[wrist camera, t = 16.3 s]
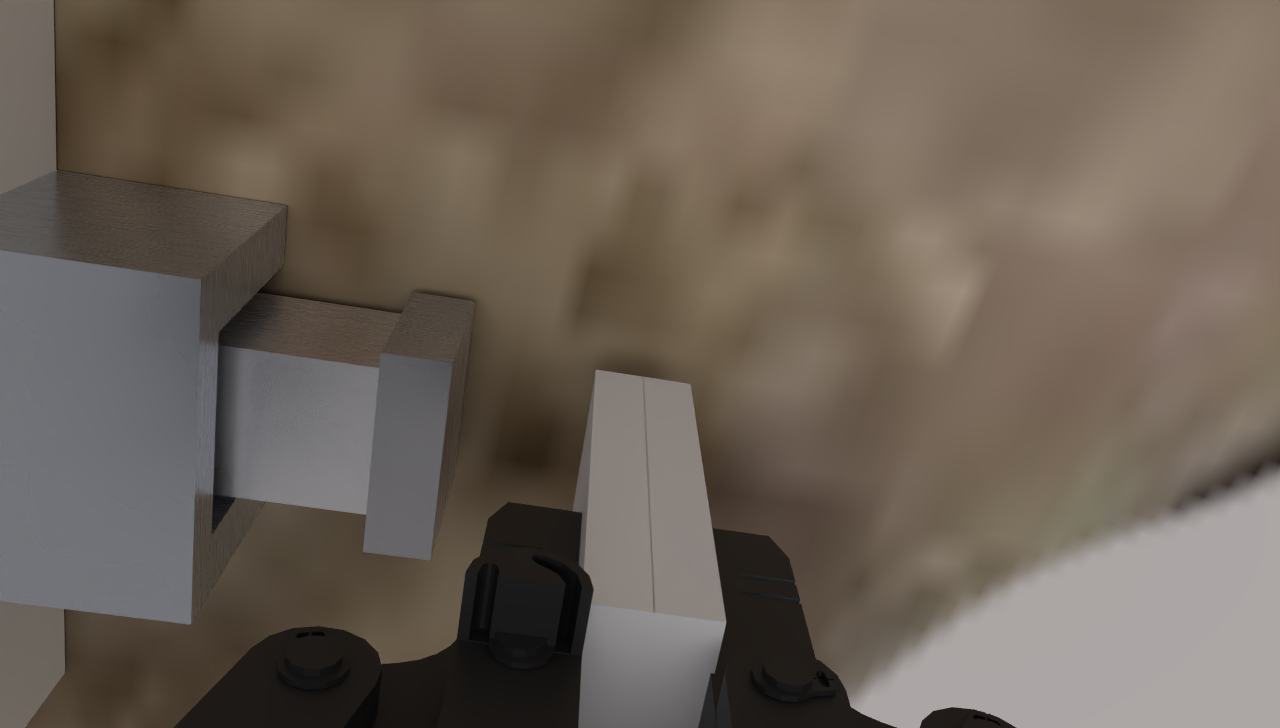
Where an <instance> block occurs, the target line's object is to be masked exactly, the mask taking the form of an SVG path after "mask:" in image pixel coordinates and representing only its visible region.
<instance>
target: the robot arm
mask: <svg viewBox="0 0 1280 728" xmlns="http://www.w3.org/2000/svg"><path fill="white" fill-rule="evenodd" d="M794 584H795V579H794V576H793V572H792V568H791V564H790V560H789V558H788V557H787V556H786V555H785V554H784V552H783V551H782V550H781V549H780V548H779V547H778V546H777V545H776V544H775V543H774V542H773V541H772V539H771V538H770V537H769V536H763V535H756V534H749V533H742V532H735V531H728V530H721V529H714V528H712V524H711V517H710V511H709V504H708V497H707V491H706V484H705V477H704V471H703V464H702V458H701V451H700V444H699V438H698V431H697V424H696V418H695V411H694V404H693V398H692V391H691V385H690V384H688V383H681V382H675V381H668V380H662V379H655V378H648V377H642V376H635V375H629V374H622V373H615V372H609V371H602V370H596V371H595V377H594V383H593V389H592V395H591V401H590V407H589V413H588V419H587V425H586V431H585V437H584V444H583V450H582V456H581V462H580V468H579V474H578V480H577V486H576V492H575V498H574V504H573V510H572V511H568V510H561V509H553V508H546V507H539V506H532V505H525V504H518V503H511V502H508V503H506V504H505V505H504V506H503V507H502V508H501V509H499V510H498V511H497V512H496V513H495V514H493V515H492V516H491V517H490V518H489V519H488V522H487V527H486V531H485V536H484V540H483V545H482V549H481V553H480V557H478V558H476V559H474V560H473V561H472V563H471V565H470V566H469V568H468V569H467V571H466V574H465V581H464V589H463V597H462V604H461V612H460V619H459V627H458V635H457V640H456V641H455V642H454V643H453V644H452V645H451V646H449V647H448V648H446V649H444V650H443V651H441V652H439V653H438V654H435V655H432V656H429V657H426V658H423V659H421V660H415V661H409V662H403V663H392V664H381V662H380V658H379V654H378V652H377V651H376V650H375V649H374V648H373V647H372V646H371V645H370V644H369V643H368V642H367V641H366V640H365V639H363V638H360V637H358V636H356V635H354V634H351V633H349V632H347V631H345V630H339V629H333V628H326V627H320V626H318V627H304V628H292V629H289V630H286V631H283V632H280V633H277V634H273V635H270V636H268V637H267V638H266V639H264V640H263V641H261V642H260V643H258V644H257V645H255V646H254V647H252V648H251V649H250V650H249V651H248V652H247V653H246V654H245V655H244V656H243V657H242V658H241V659H240V660H239V661H238V663H237V664H236V665H235V666H234V667H233V668H232V669H231V670H230V671H229V672H228V673H227V674H226V675H225V676H224V677H223V678H222V679H221V680H220V681H219V682H218V683H217V684H216V685H215V686H214V687H213V688H212V689H211V690H210V691H209V692H208V693H207V694H206V695H205V696H204V697H203V698H202V699H201V700H200V701H199V702H198V703H197V704H196V705H195V706H194V707H193V708H192V709H191V710H190V711H189V712H188V713H187V715H186V716H185V717H184V718H183V719H182V720H181V721H180V722H179V723H178V724H177V725H176V726H175V727H174V728H896V727H893V726H890V725H888V724H885V723H882V722H879V721H877V720H875V719H872V718H870V717H867V716H865V715H863V714H861V713H860V712H858V711H856V710H855V709H853V708H851V706H850V703H849V699H848V696H847V692H846V690H845V688H844V686H843V684H842V683H841V681H840V679H839V678H838V676H837V675H836V674H835V673H834V672H833V671H832V670H830V669H829V668H828V667H827V666H826V665H824V664H823V663H822V662H821V661H819V660H817V659H815V655H814V651H813V647H812V643H811V640H810V636H809V632H808V628H807V625H806V621H805V617H804V613H803V610H802V606H801V604H799V601H800V598H799V594H798V591H797V587H796V585H794ZM920 728H1016V727H1014V726H1012V725H1011V724H1009V723H1007V722H1005V721H1004V720H1002V719H1000V718H998V717H996V716H993V715H991V714H986V713H985V712H981V711H977V710H972V709H963V708H954V707H951V708H946V709H941V710H937V711H933V712H932V713H931V714H930V715H928V716H927V717H926V718H925V719H924V720H922V723H921V726H920Z"/></svg>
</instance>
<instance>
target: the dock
mask: <svg viewBox="0 0 1280 728" xmlns="http://www.w3.org/2000/svg"><path fill="white" fill-rule="evenodd" d="M55 170H57V168H56V111H55V53H54V0H0V195H1V194H3V193H6V192H8V191H10V190H12V189H15V188H17V187H19V186H21V185H24V184H26V183H28V182H30V181H33V180H35V179H37V178H39V177H42V176H44V175H46V174H48V173H51V172H53V171H55ZM64 674H65V629H64V609H61V608H53V607H44V606H36V605H28V604H20V603H12V602H4V601H0V728H25V727H26V726H27V724H28V723H29V721H30V720H31V719H32V717H33V716H34V715H35V713H36V712H37V711H38V709H39V708H40V706H41V705H42V704H43V702H44V701H45V700H46V698H47V697H48V696H49V694H50V693H51V691H52V690H53V689H54V687H55V686H56V685H57V683H58V682H59V680H60V679H61V678H62V676H63V675H64Z"/></svg>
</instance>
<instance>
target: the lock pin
mask: <svg viewBox="0 0 1280 728" xmlns="http://www.w3.org/2000/svg"><path fill="white" fill-rule="evenodd" d="M474 307H475V301H471V300H464V299H457V298H451V297H444V296H437V295H431V294H424V293H417V292H413V294H412V296H411V298H410V299H409V301H408V303H407V305H406V307H405V309H404V310H403V312H402V314H400V313H393V312H387V311H380V310H373V309H366V308H359V307H353V306H346V305H339V304H332V303H325V302H319V301H312V300H305V299H298V298H291V297H285V296H278V295H271V294H264V293H256V294H255V295H254V296H253V297H252V298H251V299H250V300H249V301H248V302H247V303H246V304H245V305H244V306H243V307H242V308H241V310H240V311H239V312H238V313H237V314H236V315H235V316H234V317H233V318H232V319H231V320H230V321H229V322H228V323H227V324H226V325H225V326H224V327H223V328H222V329H221V330H220V331H219V338H218V366H217V394H216V423H215V451H214V479H213V494H214V495H221V496H229V497H236V498H244V499H251V500H259V501H267V502H274V503H282V504H289V505H297V506H304V507H312V508H319V509H327V510H334V511H342V512H349V513H357V514H364V515H366V522H365V533H364V544H363V552H368V553H375V554H383V555H391V556H398V557H406V558H414V559H421V560H429V561H430V559H431V556H432V552H433V549H434V545H435V542H436V538H437V535H438V531H439V528H440V524H441V521H442V518H443V514H444V511H445V507H446V504H447V500H448V497H449V493H450V490H451V486H452V483H453V479H454V475H455V467H456V458H457V450H458V442H459V433H460V425H461V416H462V408H463V400H464V391H465V383H466V374H467V366H468V358H469V349H470V341H471V333H472V324H473V316H474Z"/></svg>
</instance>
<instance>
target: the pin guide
mask: <svg viewBox="0 0 1280 728" xmlns="http://www.w3.org/2000/svg"><path fill="white" fill-rule="evenodd" d="M286 215H287V205H282V204H275V203H269V202H262V201H256V200H249V199H243V198H236V197H230V196H223V195H217V194H210V193H204V192H197V191H191V190H184V189H178V188H171V187H165V186H158V185H152V184H145V183H139V182H132V181H126V180H119V179H112V178H106V177H99V176H93V175H86V174H80V173H73V172H67V171H60V170H55V171H53V172H51V173H48V174H46V175H44V176H42V177H39V178H37V179H35V180H33V181H30V182H28V183H26V184H24V185H21V186H19V187H17V188H15V189H12V190H10V191H8V192H6V193H3V194H1V195H0V601H4V602H12V603H20V604H28V605H36V606H44V607H53V608H61V609H69V610H77V611H85V612H93V613H101V614H109V615H117V616H125V617H133V618H141V619H149V620H157V621H166V622H174V623H182V624H190V625H191V624H192V622H193V620H194V619H195V617H196V615H197V614H198V612H199V610H200V609H201V607H202V605H203V604H204V602H205V601H206V599H207V597H208V596H209V594H210V592H211V591H212V589H213V587H214V586H215V584H216V582H217V581H218V579H219V577H220V576H221V574H222V572H223V571H224V569H225V567H226V566H227V564H228V562H229V561H230V559H231V557H232V556H233V554H234V552H235V551H236V549H237V547H238V546H239V544H240V542H241V541H242V539H243V537H244V536H245V534H246V532H247V531H248V529H249V527H250V526H251V524H252V522H253V521H254V519H255V517H256V516H257V514H258V512H259V511H260V509H261V507H262V506H263V504H264V502H265V501H259V500H251V499H244V498H236V497H229V496H221V495H214V494H213V479H214V451H215V423H216V394H217V366H218V338H219V331H220V330H221V329H222V328H223V327H224V326H225V325H226V324H227V323H228V322H229V321H230V320H231V319H232V318H233V317H234V316H235V315H236V314H237V313H238V312H239V311H240V310H241V308H242V307H243V306H244V305H245V304H246V303H247V302H248V301H249V300H250V299H251V298H252V297H253V296H254V295H255V294H256V293H257V292H258V291H259V290H260V289H261V288H262V287H263V286H264V285H265V284H266V283H267V282H268V280H269V279H270V278H271V277H272V276H273V275H274V274H275V273H276V272H277V271H278V270H279V269H280V268H281V267H282V266H283V265H284V251H285V233H286Z"/></svg>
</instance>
